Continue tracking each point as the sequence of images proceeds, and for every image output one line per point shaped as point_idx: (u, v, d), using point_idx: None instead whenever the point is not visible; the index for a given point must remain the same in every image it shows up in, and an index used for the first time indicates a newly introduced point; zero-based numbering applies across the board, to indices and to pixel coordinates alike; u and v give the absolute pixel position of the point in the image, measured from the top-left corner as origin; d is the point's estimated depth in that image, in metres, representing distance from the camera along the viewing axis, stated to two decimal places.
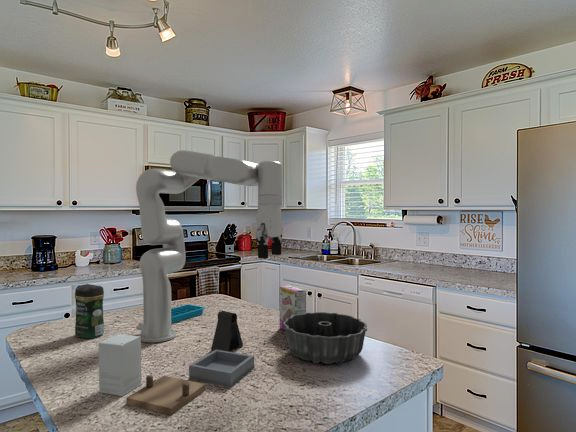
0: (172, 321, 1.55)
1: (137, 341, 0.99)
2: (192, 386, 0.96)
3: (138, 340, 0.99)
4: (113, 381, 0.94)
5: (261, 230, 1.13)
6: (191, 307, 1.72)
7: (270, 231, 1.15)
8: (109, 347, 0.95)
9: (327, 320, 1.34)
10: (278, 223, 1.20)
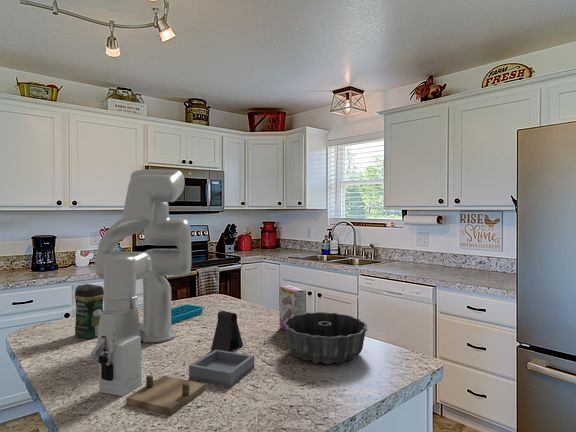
0: (173, 321, 1.55)
1: (137, 341, 0.99)
2: (192, 386, 0.96)
3: (138, 340, 0.99)
4: (112, 381, 0.94)
5: (99, 349, 0.92)
6: (190, 307, 1.73)
7: (113, 346, 0.93)
8: None
9: (327, 320, 1.34)
10: (130, 331, 0.98)
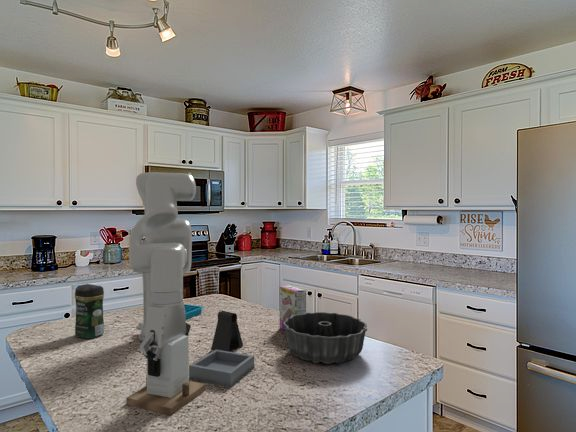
0: None
1: (185, 341, 0.95)
2: (192, 386, 0.96)
3: (186, 339, 0.95)
4: (161, 382, 0.90)
5: (148, 343, 0.87)
6: (188, 307, 1.73)
7: (162, 340, 0.89)
8: None
9: (327, 320, 1.34)
10: (178, 325, 0.94)
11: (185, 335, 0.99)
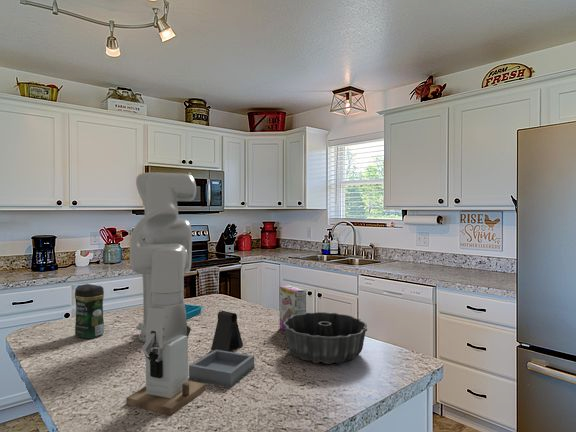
0: None
1: (184, 341, 0.94)
2: (192, 386, 0.96)
3: (185, 340, 0.95)
4: (161, 383, 0.90)
5: (150, 345, 0.87)
6: (188, 307, 1.73)
7: (163, 341, 0.89)
8: (156, 346, 0.91)
9: (327, 320, 1.34)
10: (178, 326, 0.94)
11: None
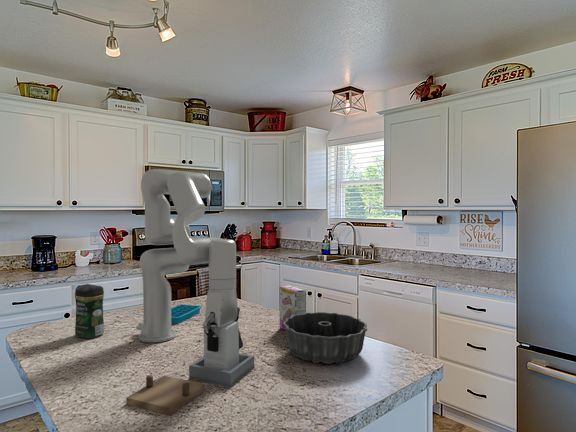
0: (179, 321, 1.56)
1: (236, 326, 1.08)
2: (192, 386, 0.96)
3: (237, 325, 1.09)
4: (218, 361, 1.04)
5: (209, 322, 1.00)
6: (186, 307, 1.73)
7: (221, 321, 1.03)
8: (213, 330, 1.04)
9: (327, 320, 1.34)
10: (232, 308, 1.07)
11: (236, 317, 1.13)
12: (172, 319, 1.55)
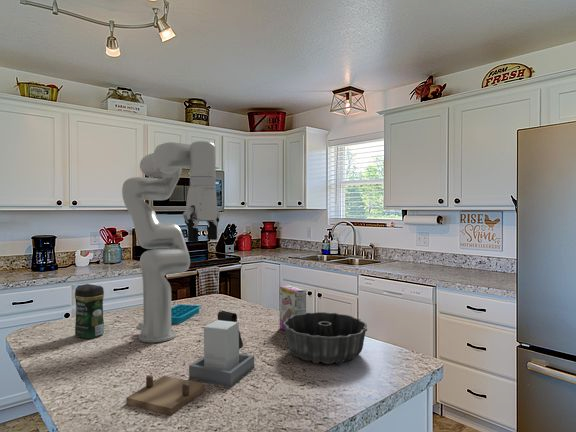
0: (180, 321, 1.56)
1: (236, 326, 1.08)
2: (192, 386, 0.96)
3: (237, 325, 1.09)
4: (218, 362, 1.04)
5: (189, 212, 1.09)
6: (185, 307, 1.73)
7: (200, 214, 1.11)
8: (214, 330, 1.04)
9: (327, 320, 1.34)
10: (211, 206, 1.15)
11: (216, 219, 1.21)
12: (173, 319, 1.55)
